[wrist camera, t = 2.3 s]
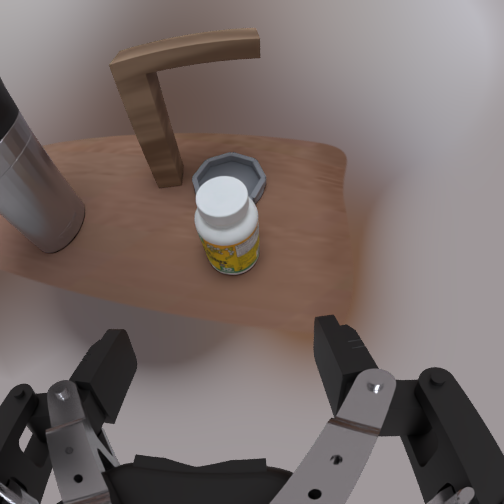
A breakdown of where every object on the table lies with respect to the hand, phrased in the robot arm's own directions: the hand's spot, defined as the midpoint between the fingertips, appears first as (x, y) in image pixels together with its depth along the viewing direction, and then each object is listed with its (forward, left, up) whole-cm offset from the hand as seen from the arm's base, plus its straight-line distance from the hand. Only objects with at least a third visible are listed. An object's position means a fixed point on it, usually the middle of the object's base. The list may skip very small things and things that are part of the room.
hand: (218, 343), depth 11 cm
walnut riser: (-14, +19, -15) cm, 28 cm away
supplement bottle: (-6, +10, -15) cm, 19 cm away
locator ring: (-10, +18, -15) cm, 25 cm away
